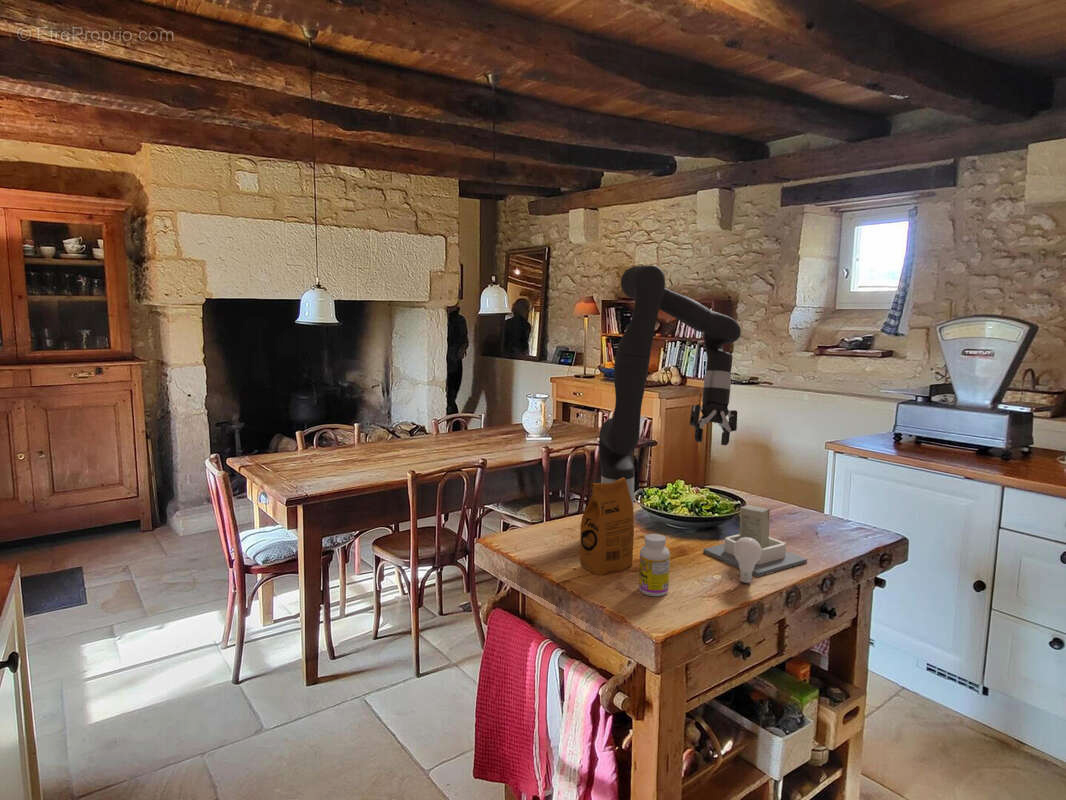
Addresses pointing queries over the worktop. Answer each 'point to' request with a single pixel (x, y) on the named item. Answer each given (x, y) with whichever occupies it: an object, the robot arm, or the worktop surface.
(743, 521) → the skincare box
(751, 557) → the lightbulb
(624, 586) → the worktop surface
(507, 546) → the worktop surface
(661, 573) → the supplement bottle
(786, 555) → the holder
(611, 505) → the coffee package
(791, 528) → the worktop surface
